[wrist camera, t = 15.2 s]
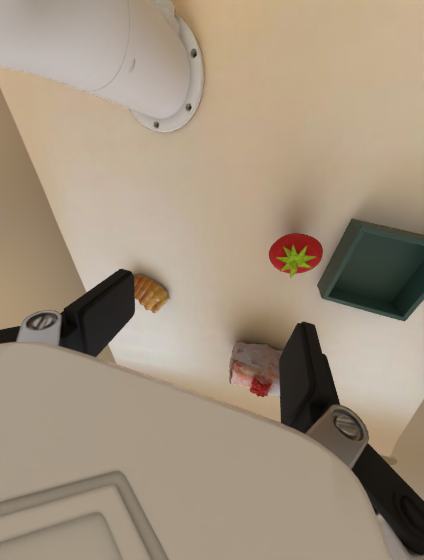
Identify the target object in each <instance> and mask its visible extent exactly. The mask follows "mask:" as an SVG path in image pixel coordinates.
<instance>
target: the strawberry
mask: <svg viewBox="0 0 424 560" xmlns="http://www.w3.org/2000/svg"><path fill="white" fill-rule="evenodd" d="M322 254H323V249H322V246H321V244H320V243H319V241H317V240H316V239H315V238H313V237H311V236H308V235H304V234H289V235H285V236H283V237H281V238H280V239H278V240H277V241H276V242H275V243H274V244H273V245H272V246H271V248H270V251H269V259H270V261H271V263H272V264H273V265H274V267H276V268H277V269H278V270H280V271H283V272H286V273H290V278H291V277H292V276H293V275H294V274H295V273H302V272H306V271H308V270H311V269H312V268H314V267H315V266H317V265H318V263H319V262H320V261H321V259H322Z"/></svg>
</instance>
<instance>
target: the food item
mask: <svg viewBox="0 0 424 560" xmlns="http://www.w3.org/2000/svg"><path fill="white" fill-rule="evenodd" d="M282 352H283V351H280V350H275V349H273V348H272V347H270V346H269V345H268V344H259V345H258V344H255V343H253V344H246V343H244V342H243V341H242V342H239V341H238V342H236V343H235V346H234V348H233V351H232V355H231V356H232V357H231V358H230V365H229V371H230V375H229V381H230V384H236V385H239V386H242V387H247V388H250V392H252V393H255V394H257V396H262V397H264V395H265V396H266V395H268V394H267V393H269V394H273V395H276V396H279V397H280V379H279V359H280V356H281V354H282Z"/></svg>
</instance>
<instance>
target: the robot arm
mask: <svg viewBox="0 0 424 560" xmlns="http://www.w3.org/2000/svg"><path fill="white" fill-rule="evenodd" d="M174 12H175V5H174V3H173V2H172V0H153V2H152V1H151V0H0V68H6V69H13V70H18V71H23V72H27V73H31V74H34V75H38V76H42V77H45V78H48V79H51V80H54V81H57V82H59V83H62V84H65V85H68V86H70V87H73V88H76V89H78V90H81V91H84V92H86V93H89V94H92V95H94V96H97V97H100V98H102V99H105V100H108V101H110V102H113V103H116V104H118V105H121V106H124V107H126V108H128V109H129V111H130V112H131V113H132V115H133V116H134V117H135V118H136V119H137V120H138V121H139V122H140V123H141V124H142V125H144V126H145V127H147V128H149V129H151V130H154V131H158V132H171V131H175V130H177V129H179V128H181V127H182V126H184V125H185V124H186V123H187V122H188V121H189V120H190V119H191V117H192V116H193V115H194V113H195V111H196V109H197V108H198V105H199V102H200V100H201V97H202V92H203V86H204V65H203V59H202V54H201V50H200V47H199V45H198V42H197V40H196V38H195V36H194V34H193V33H192V31H191V29H190V28H189V27H188V25H187V24H186V23H185V21H184V20H183V19H181V18H180V17H179V16H178V15H177V14H176V13H174ZM195 54H197V55H196V57H195V58H194V55H195ZM190 106H191V110H189V107H190ZM158 124H159V127H158ZM134 312H135V289H134V275H133V274H132V272H131V271H128V270H124V269H119V270H118V271H117V272H115V273H114V274H112V275H111V276H110V277H108V278H107V279H105V280H104V281H102V282H101V283H100V284H98V285H97V286H95V287H94V288H93V289H91V290H90V291H88V292H87V293H86V294H84V295H83V296H82V297H80V298H79V299H77V300H76V301H74V302H73V303H71V304H70V305H69V306H67V307H66V308H64V311H63V312H62V313H59V312H57V311H52V310H44V311H39V312H36V313H33V314H31V315H29V316H28V317H26V318H25V319H24V321H23V322H22V324H21V326H17V327H13V328H7V329H2V330H0V560H424V501H423V500H422V499H421V498H420V497H419V496H418V495H417V494H416V493H415V492H414V491H413V489H412V488H411V487H410V486H409V485H408V484H407V483H406V482H405V481H404V480H403V479H402V478H401V477H400V476H399V475H398V474H397V473H396V472H395V471H394V470H393V469H392V468H391V467H390V466H389V465H388V463H387V462H386V461H385V460H384V459H383V458H382V457H381V456H380V455H379V454H378V453H377V452H376V451H375V450H374V449H373V448H372V447H371V446H370V445H369V444H368V440H369V435H368V431H367V428H366V426H365V424H364V423H363V421H362V420H361V419H360V418H359V417H358V415H357V414H356V413H354V412H353V411H352V410H350V409H349V408H347V407H345V406H342V405H340V402H339V399H338V395H337V392H336V388H335V385H334V381H333V377H332V374H331V370H330V367H329V363H328V360H327V357H326V355H325V354H322V351H321V347H320V343H319V339H318V336H317V332H316V328H315V325H314V324H310V323H307V322H302V323H301V324H300V323H298V324H297V325H296V327H295V329H294V331H293V333H292V335H291V337H290V339H289V341H288V343H287V344H286V346H285V348H284V350H283V352H282V354H281V356H280V359H279V379H280V407H281V423H280V422H277V421H274V420H272V419H269V418H266V417H264V416H261V415H258V414H256V413H253V412H250V411H248V410H245V409H242V408H239V407H237V406H234V405H231V404H228V403H225V402H223V401H220V400H217V399H214V398H211V397H209V396H206V395H203V394H200V393H197V392H194V391H192V390H189V389H186V388H183V387H180V386H177V385H174V384H172V383H169V382H166V381H163V380H160V379H157V378H154V377H152V376H149V375H146V374H143V373H140V372H137V371H134V370H131V369H128V368H125V367H123V366H120V365H117V364H114V363H111V362H108V361H105V360H102V359H99V358H96V356H97V355H98V354H99V353H100V352H101V351H102V350H103V349H104V348H105V347H106V346H107V344H108V343H109V342H110V341H111V340H112V339H113V338H114V337H115V336H116V334H117V333H118V332H119V331H120V330H121V329H122V328H123V327H124V326H125V324H126V323H127V322H128V321H129V320H130V319H131V318H132V317H133V315H134Z"/></svg>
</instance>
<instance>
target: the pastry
mask: <svg viewBox="0 0 424 560" xmlns="http://www.w3.org/2000/svg"><path fill="white" fill-rule="evenodd" d="M134 289H135V298H136V299H138V300H139V302H140V304H141V305H144V307H145V309H146V310H151V311H152V312H153V313H156V312H157V311H158V310H159V309H160V308H161V307H162V306H163V305H164V304H165V303H166V302H168V301H169V300H170V298H169V295H168V293H167V291H166V289H164V288H163V287H162V285H160V284H159V283H157V282H155V281H154V280H152V279H151V278H149V277H147V276H144V275H140V274H137V275H135V276H134Z"/></svg>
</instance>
